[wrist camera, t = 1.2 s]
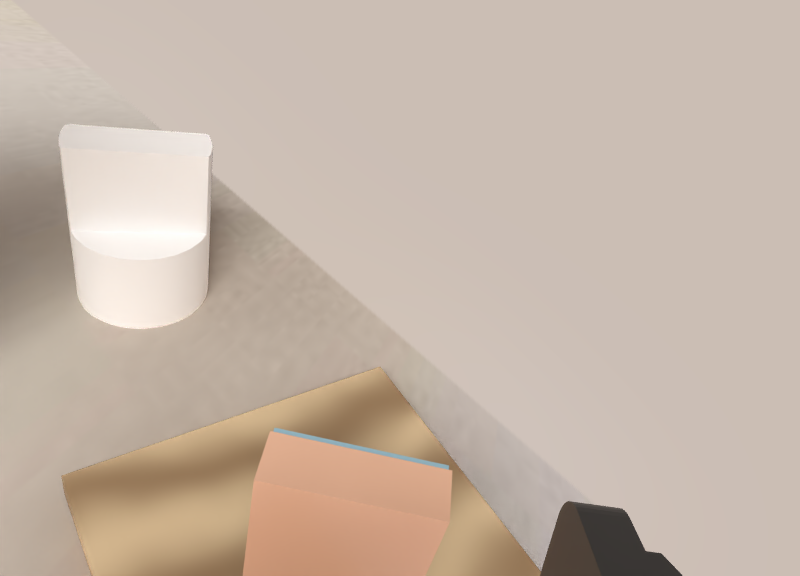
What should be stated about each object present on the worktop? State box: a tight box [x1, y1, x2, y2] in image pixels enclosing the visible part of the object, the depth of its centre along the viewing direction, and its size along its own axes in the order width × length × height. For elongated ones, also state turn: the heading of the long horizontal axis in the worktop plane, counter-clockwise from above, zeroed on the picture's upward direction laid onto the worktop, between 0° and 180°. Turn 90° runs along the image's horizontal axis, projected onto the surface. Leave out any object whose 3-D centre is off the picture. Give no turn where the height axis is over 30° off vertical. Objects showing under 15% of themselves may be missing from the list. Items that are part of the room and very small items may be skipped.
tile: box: [243, 428, 452, 576], centre depth 28 cm, size 2×7×12 cm, turn 84°
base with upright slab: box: [59, 124, 213, 329], centre depth 45 cm, size 9×9×12 cm
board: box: [61, 367, 541, 576], centre depth 35 cm, size 18×20×2 cm
